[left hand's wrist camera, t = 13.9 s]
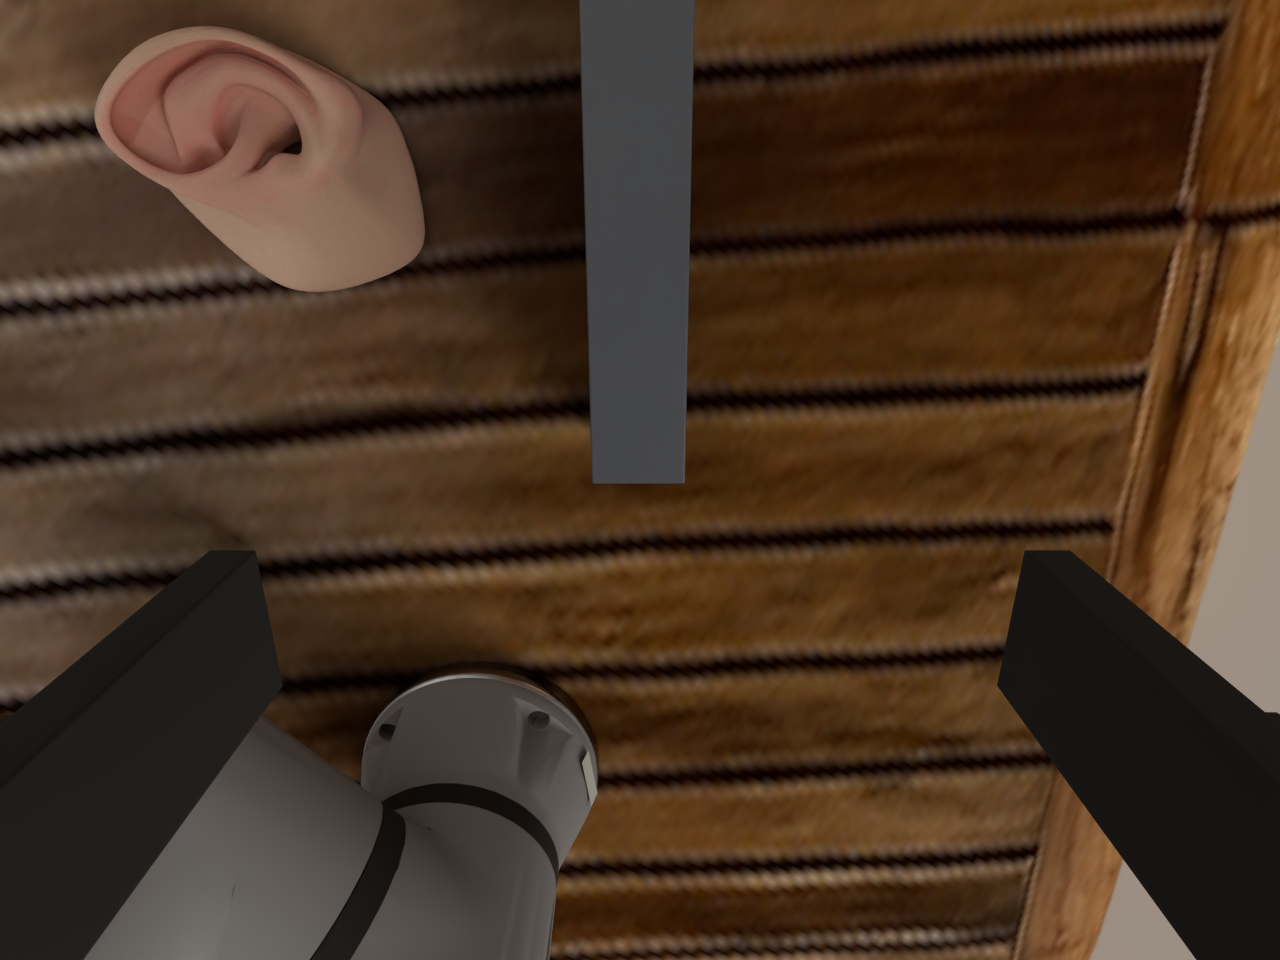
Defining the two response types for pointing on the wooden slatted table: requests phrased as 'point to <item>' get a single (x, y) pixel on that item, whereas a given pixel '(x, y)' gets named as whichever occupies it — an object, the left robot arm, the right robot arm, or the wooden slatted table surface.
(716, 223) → the wooden slatted table surface
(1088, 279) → the wooden slatted table surface
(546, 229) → the wooden slatted table surface
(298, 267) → the anatomical model
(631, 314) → the post
